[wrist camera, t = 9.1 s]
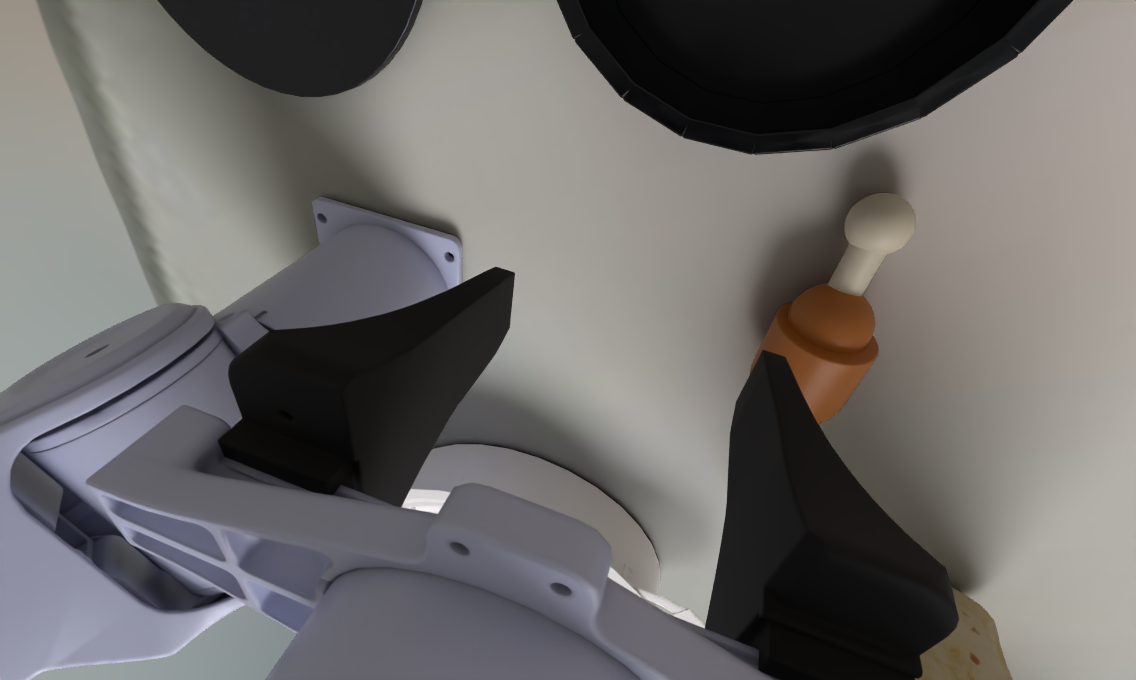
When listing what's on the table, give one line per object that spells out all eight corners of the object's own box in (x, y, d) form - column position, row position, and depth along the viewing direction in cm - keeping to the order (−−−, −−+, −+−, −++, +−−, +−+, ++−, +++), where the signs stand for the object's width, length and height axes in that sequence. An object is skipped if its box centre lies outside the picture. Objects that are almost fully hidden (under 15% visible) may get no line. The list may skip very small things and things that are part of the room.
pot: (420, 589, 51) (392, 639, 47) (308, 417, 39) (259, 467, 35) (731, 657, 40) (725, 729, 36) (706, 447, 28) (694, 523, 25)
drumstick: (824, 397, 24) (826, 458, 21) (741, 369, 25) (732, 425, 22) (950, 199, 18) (977, 249, 15) (834, 170, 19) (839, 212, 16)
